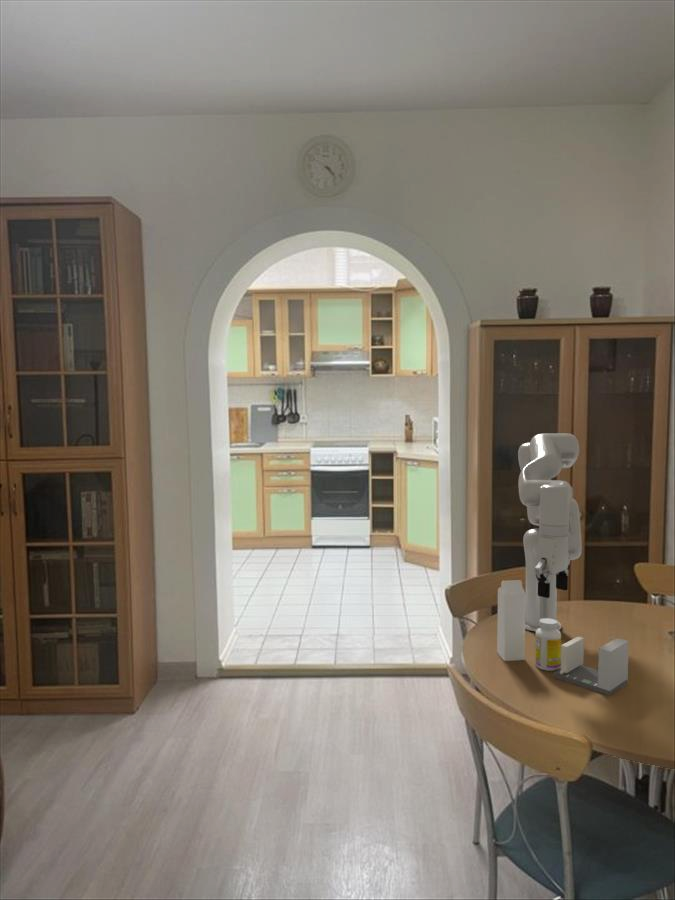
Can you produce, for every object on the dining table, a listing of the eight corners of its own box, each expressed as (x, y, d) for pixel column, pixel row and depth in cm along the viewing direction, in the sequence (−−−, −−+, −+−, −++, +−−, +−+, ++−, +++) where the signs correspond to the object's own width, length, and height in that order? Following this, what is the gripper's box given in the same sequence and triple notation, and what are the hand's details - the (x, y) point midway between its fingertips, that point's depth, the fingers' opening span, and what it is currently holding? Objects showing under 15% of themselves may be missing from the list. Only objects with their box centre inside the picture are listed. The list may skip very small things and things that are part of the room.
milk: (497, 653, 191) (497, 577, 190) (517, 652, 192) (517, 577, 190) (504, 661, 185) (504, 583, 184) (525, 660, 186) (525, 582, 184)
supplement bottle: (565, 666, 181) (565, 620, 180) (554, 674, 177) (555, 627, 176) (542, 660, 186) (542, 615, 185) (530, 667, 181) (531, 621, 180)
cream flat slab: (557, 672, 173) (558, 646, 172) (577, 661, 180) (578, 636, 179) (563, 674, 171) (564, 648, 171) (583, 663, 179) (583, 637, 178)
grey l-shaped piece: (553, 677, 175) (554, 635, 174) (572, 666, 181) (573, 626, 181) (609, 695, 164) (610, 651, 163) (627, 683, 170) (628, 641, 170)
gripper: (556, 524, 187) (555, 584, 188) (524, 533, 175) (523, 596, 176) (582, 527, 181) (581, 589, 183) (550, 537, 169) (549, 603, 171)
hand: (552, 593), depth 179 cm, fingers open, 9 cm apart
